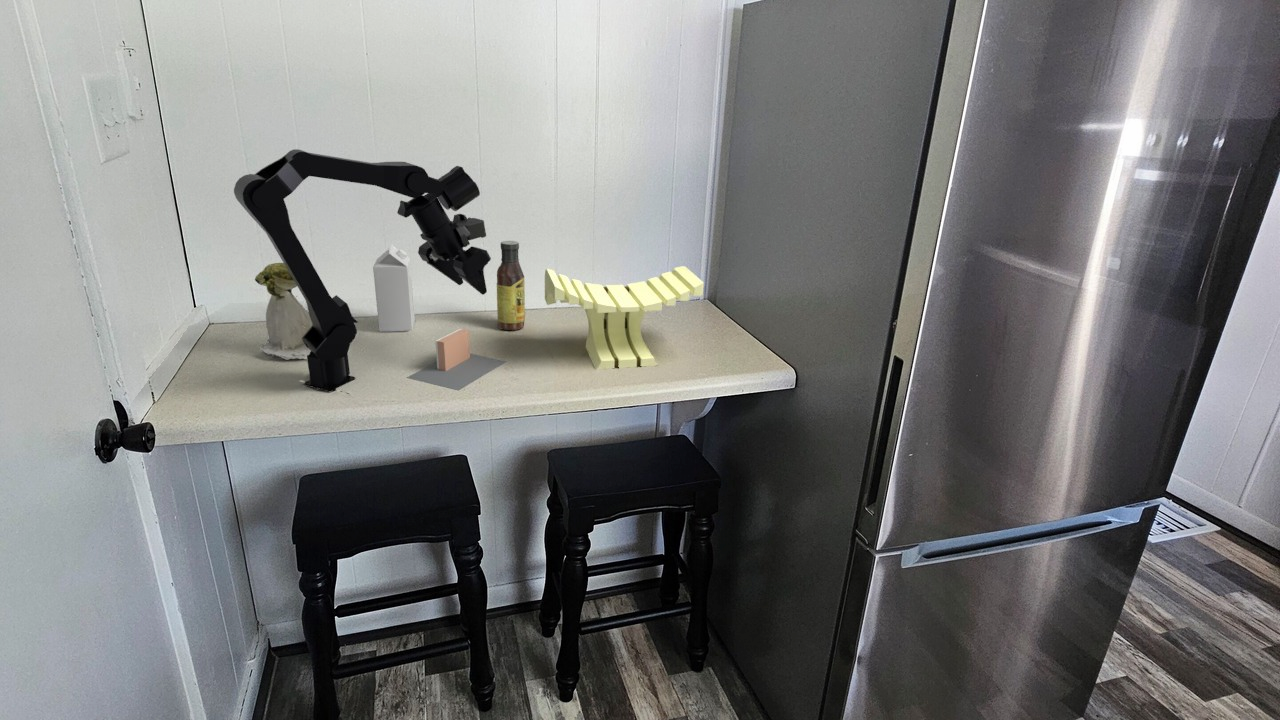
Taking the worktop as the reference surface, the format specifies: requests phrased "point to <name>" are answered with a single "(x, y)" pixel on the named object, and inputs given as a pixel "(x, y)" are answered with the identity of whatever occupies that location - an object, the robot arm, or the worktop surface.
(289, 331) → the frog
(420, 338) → the worktop surface
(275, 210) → the robot arm
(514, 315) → the sauce bottle
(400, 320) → the milk carton
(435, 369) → the mat
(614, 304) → the yellow slatted pedestal stand
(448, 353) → the tile
